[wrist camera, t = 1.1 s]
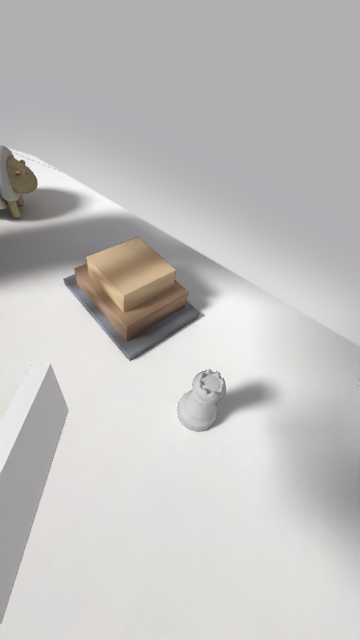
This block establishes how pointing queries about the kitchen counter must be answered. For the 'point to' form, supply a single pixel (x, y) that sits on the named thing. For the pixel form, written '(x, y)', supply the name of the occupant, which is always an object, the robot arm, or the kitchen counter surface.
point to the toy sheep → (14, 181)
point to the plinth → (132, 295)
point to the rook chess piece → (201, 401)
